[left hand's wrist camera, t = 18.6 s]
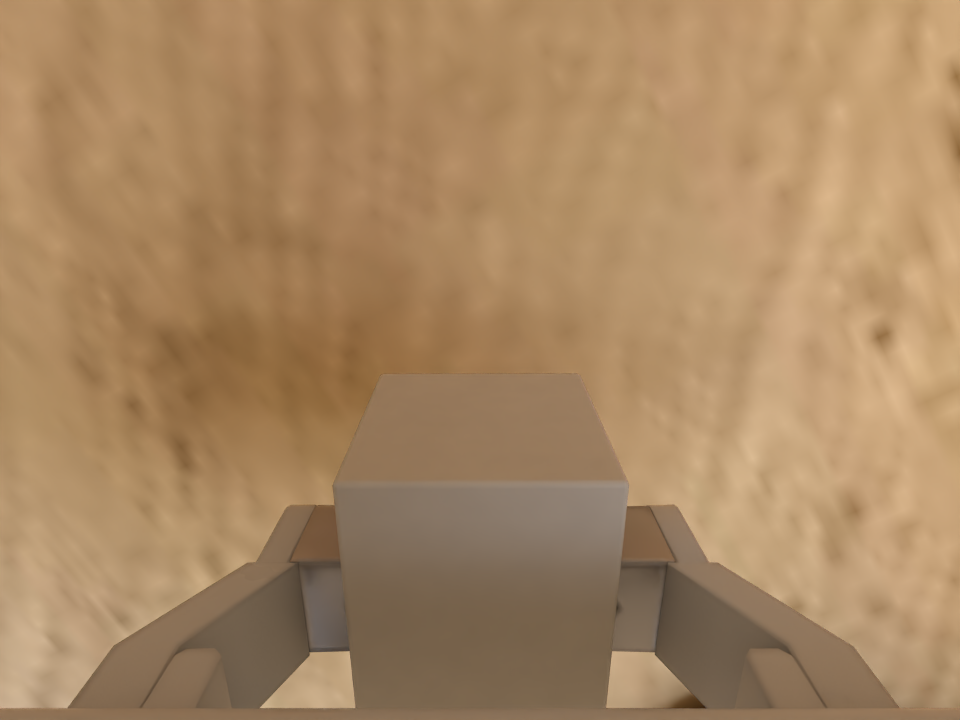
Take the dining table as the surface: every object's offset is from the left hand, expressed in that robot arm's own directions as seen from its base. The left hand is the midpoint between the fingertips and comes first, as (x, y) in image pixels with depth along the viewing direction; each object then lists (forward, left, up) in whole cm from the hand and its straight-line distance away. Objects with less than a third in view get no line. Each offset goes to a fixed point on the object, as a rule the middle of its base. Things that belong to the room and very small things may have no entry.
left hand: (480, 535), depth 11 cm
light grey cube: (0, 0, -2) cm, 2 cm away
